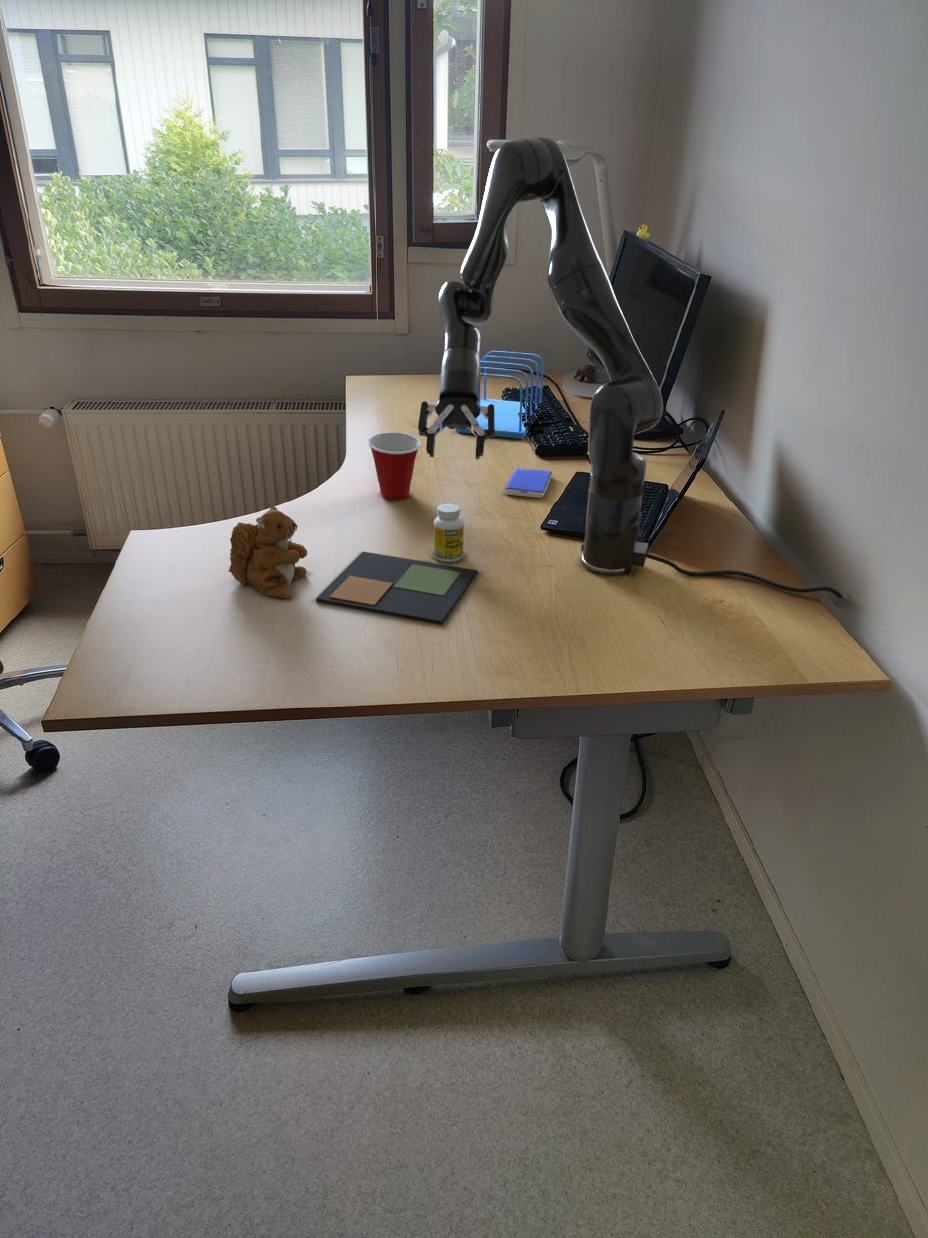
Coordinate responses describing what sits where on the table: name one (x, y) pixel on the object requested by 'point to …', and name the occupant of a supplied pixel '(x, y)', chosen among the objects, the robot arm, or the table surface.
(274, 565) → the stuffed squirrel
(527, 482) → the hard drive
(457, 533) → the supplement bottle
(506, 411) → the file sorter
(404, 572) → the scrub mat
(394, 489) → the plastic cup
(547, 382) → the table surface
